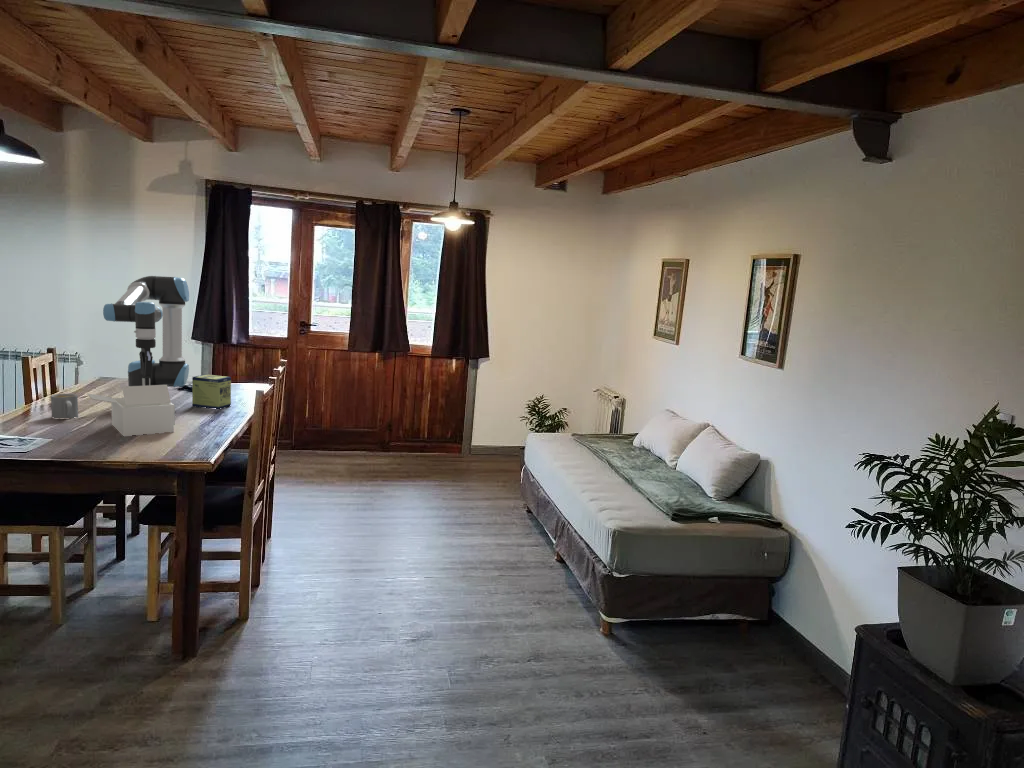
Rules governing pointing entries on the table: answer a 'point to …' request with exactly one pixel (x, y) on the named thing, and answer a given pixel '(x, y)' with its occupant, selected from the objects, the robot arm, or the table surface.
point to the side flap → (102, 398)
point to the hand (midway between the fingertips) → (146, 392)
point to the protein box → (211, 391)
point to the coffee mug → (64, 405)
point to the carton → (142, 418)
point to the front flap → (146, 395)
